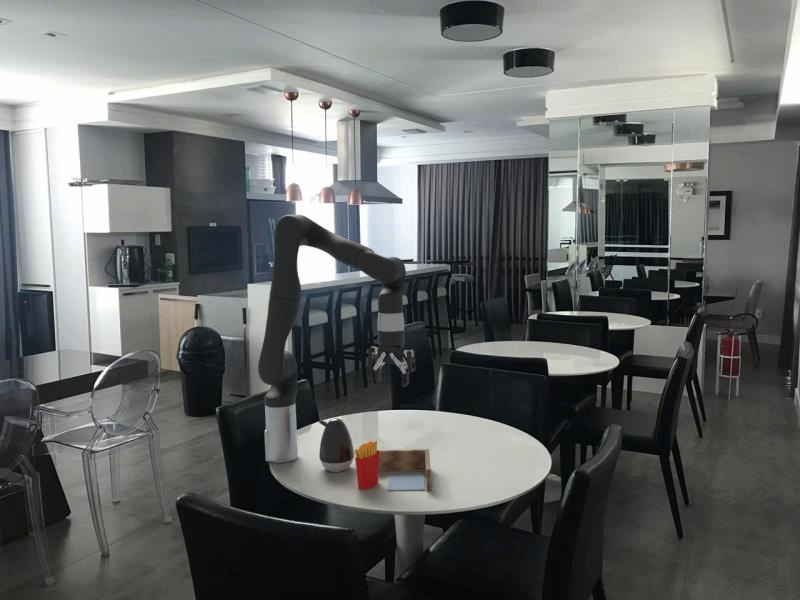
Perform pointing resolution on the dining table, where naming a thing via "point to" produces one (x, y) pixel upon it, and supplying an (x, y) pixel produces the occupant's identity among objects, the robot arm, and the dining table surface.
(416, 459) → the wooden corner bracket
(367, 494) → the dining table surface
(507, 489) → the dining table surface
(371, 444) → the french fries
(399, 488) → the mat
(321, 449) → the pump dispenser
